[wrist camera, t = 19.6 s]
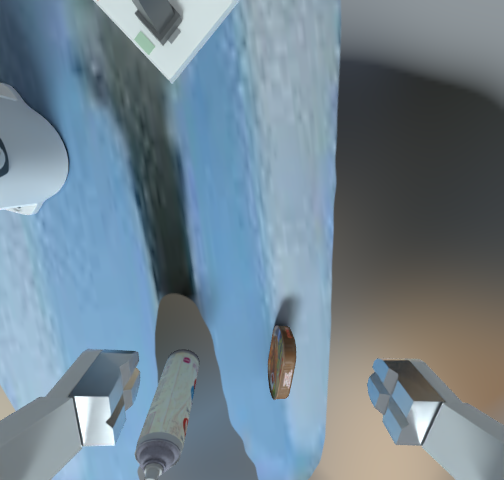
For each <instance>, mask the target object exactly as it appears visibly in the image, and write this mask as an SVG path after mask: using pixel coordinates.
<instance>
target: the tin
mask: <svg viewBox="0 0 504 480" xmlns="http://www.w3.org/2000/svg"><path fill="white" fill-rule="evenodd" d="M295 363H296V344H295V339H294V337H293V334H292V332H291V330H290V327H288V326H278V325H276V326H275V327H274V330H273V334H272V341H271V347H270V353H269V359H268V381H269V388H270V393H271V396H272V398H273V399H274V400H276V399H285V398H287V397H288V396H289V393H290V388H291V383H292V379H293V373H294V368H295Z"/></svg>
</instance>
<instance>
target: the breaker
mask: <svg viewBox="0 0 504 480" xmlns="http://www.w3.org/2000/svg"><path fill="white" fill-rule="evenodd" d="M132 2H133V3H134V5H135V6H136V8H137V9H138V10H137V11H136V12H135V15H136V16H137V18H138V19H139V20H140V21H141V23H142V24H143V25H144V26H145V27H146V28H147V29H148V30H149V31H150V32H151V33H152V35H153V36H154V37H155V38H156V39H157V40H158V41H159V42H160V43H161V44H162V46H164V44H165V43H166V42H167V40H168V39H169V38H170V37H171V35H172V34H173V33H174V31H175V30H176V29H177V27H178V26H179V25H180V24H181V22H182V18H181V16H180V14H179V13H178V12H177V11H176V10H175V9H174V7H173V6H172V5H171V4H170V3H169V1H168V0H132Z"/></svg>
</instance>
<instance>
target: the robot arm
mask: <svg viewBox="0 0 504 480" xmlns="http://www.w3.org/2000/svg"><path fill="white" fill-rule="evenodd" d="M67 174H68V157H67V152H66V149H65V146H64V144H63V142H62V140H61V138H60V136H59V134H58V133H57V131H56V130H55V129H54V128H53V126H52V125H51V124H50V123H49V122H48V121H47V120H46V119H45V118H44V117H42V116H41V115H40V114H39V113H37V112H36V111H34V110H33V109H32V108H30V107H29V106H28V105H27V104H26V103H25V102H24V100H23V99H22V98H21V96H20V95H19V94H18V92H17V91H16V90H15V89H14V88H13V87H12V86H10V85H8V84H4V83H0V210H1V209H4V210H8V211H12V212H16V213H20V214H24V215H32V214H36V213H37V212H38V211H39V209H40V208H41V206H42V204H43V202H44V201H45V200H47V199H48V198H50V197H51V196H53V195H54V194H56V193H57V192H58V191H59V190H60V189H61V188H62V186H63V185H64V183H65V181H66V178H67ZM138 362H139V356H138V352H136V351H123V350H98V349H87V350H85V351H84V352H82V354H81V355H80V356H79V357H78V358H77V360H76V361H75V362H74V363H73V364H72V366H71V367H70V368H69V369H68V370H67V372H66V373H65V374H64V375H63V376H62V378H61V379H60V380H59V381H58V382H57V383H56V385H55V386H54V387H53V388H52V389H51V391H50V392H49V393H48V394H47V395H46V397H39V398H37V399H35V400H34V401H32V402H30V403H29V404H27V405H25V406H24V407H22V408H20V409H19V410H17V411H16V412H14V413H12V414H11V415H9V416H7V417H6V418H4V419H2V420H1V421H0V480H51V479H52V478H53V477H54V476H55V475H56V474H57V473H58V472H59V471H60V470H61V469H62V468H63V467H64V466H65V465H66V464H67V463H68V462H69V461H70V460H71V459H72V458H73V457H74V456H75V455H76V454H77V453H78V452H79V451H80V450H81V449H82V446H107V445H115V444H116V441H117V439H118V437H119V435H120V432H121V430H122V428H123V426H124V423H125V421H126V415H125V411H126V410H127V409H128V408H130V407H131V406H132V405H133V403H134V401H135V398H136V396H137V392H138V388H139V384H140V371H139V370H138V369H137V368H136V366H137V364H138ZM373 369H374V371H375V372H374V373H373V374H372V375H371V376H370V377H369V380H368V384H367V386H368V393H369V397H370V400H371V402H372V403H373V405H374V407H375V408H376V409H377V410H378V411H379V412H380V413H382V414H383V423H384V425H385V427H386V428H387V430H388V432H389V434H390V436H391V437H392V439H393V441H394V443H395V444H396V445H420V446H422V448H423V449H424V450H425V451H426V452H427V453H429V454H430V455H431V456H432V457H433V458H434V459H435V460H436V461H437V462H438V463H439V464H440V465H441V466H442V467H443V468H444V469H445V470H446V471H447V472H448V473H449V474H450V475H451V476H453V477H454V478H455V479H456V480H504V425H502V424H501V423H499V422H498V421H496V420H494V419H493V418H491V417H489V416H487V415H486V414H485V413H483V412H481V411H479V410H478V409H476V408H475V407H473V406H471V405H470V404H468V403H462V401H461V400H460V399H459V398H457V396H456V395H455V394H454V393H453V392H452V391H451V390H450V389H449V388H448V387H447V386H446V385H445V383H444V382H443V381H441V379H440V378H439V377H438V376H437V375H436V374H435V373H434V372H433V371H432V370H431V369H430V368H429V367H428V365H426V363H424V362H423V361H421V360H420V359H387V358H377V359H376V360H375V361H374V364H373Z"/></svg>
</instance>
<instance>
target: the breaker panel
mask: <svg viewBox="0 0 504 480" xmlns="http://www.w3.org/2000/svg"><path fill="white" fill-rule="evenodd" d="M93 1H94V2H95V3H96V4H97V5H98V6H99V7H100V8H101V9H102V10H103V11H104V12H105V13H106V14H107V15H108V16H109V18H110V19H111V20H112V21H113V22H114V23H115V24H116V25H117V26H118V27H119V28H120V29H121V30H122V31H123V32H124V33H125V34H126V36H127V37H128V38H129V39H130V40H131V41H132V42H133V43H134V44H135V45H136V46H137V47H138V48H139V49H140V50H141V51H142V52H143V54H144V55H145V56H146V57H147V58H148V59H149V60H150V61H151V62H152V63H153V64H154V65H155V66H156V67H157V68H158V69H159V70H160V72H161V73H162V74H163V75H164V76H165V77H166V78H167V79H168V80H169V81H170V82H171V83H172V84H173V82H174V81H175V80H176V79H177V77H178V76H179V75H180V74H181V73H182V71H183V70H184V69H185V68H186V66H187V65H188V64H189V63H190V61H191V60H192V59H193V58H194V56H195V55H196V54H197V53H198V52H199V50H200V49H201V48H202V47H203V45H204V44H205V43H206V42H207V40H208V39H209V38H210V37H211V35H212V34H213V33H214V32H215V31H216V29H217V28H218V27H219V26H220V24H221V23H222V22H223V21H224V19H225V18H226V17H227V16H228V14H229V13H230V12H231V11H232V9H233V8H234V7H235V6H236V5H237V3H238V2H239V1H240V0H168V1H169V3H170V4H171V5H172V6H173V7H174V9H175V10H176V11H177V12H178V13H179V14H180V16H181V18H182V22H181V24H180V25H179V26H178V27H177V29H176V30H175V31H174V33H173V34H172V35H171V37H170V38H169V39H168V40H167V42H166V43H165V44H164V46H162V44H161V43H160V42H159V41H158V40H157V39H156V38H155V37H154V36H153V35H152V33H151V32H150V31H149V30H148V29H147V28H146V27H145V26H144V25H143V24H142V23H141V21H140V20H139V19H138V18H137V16H136V15H135V12H136V11H137V10H138V9H137V8H136V6H135V5H134V3H133V2H132V0H93Z"/></svg>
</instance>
